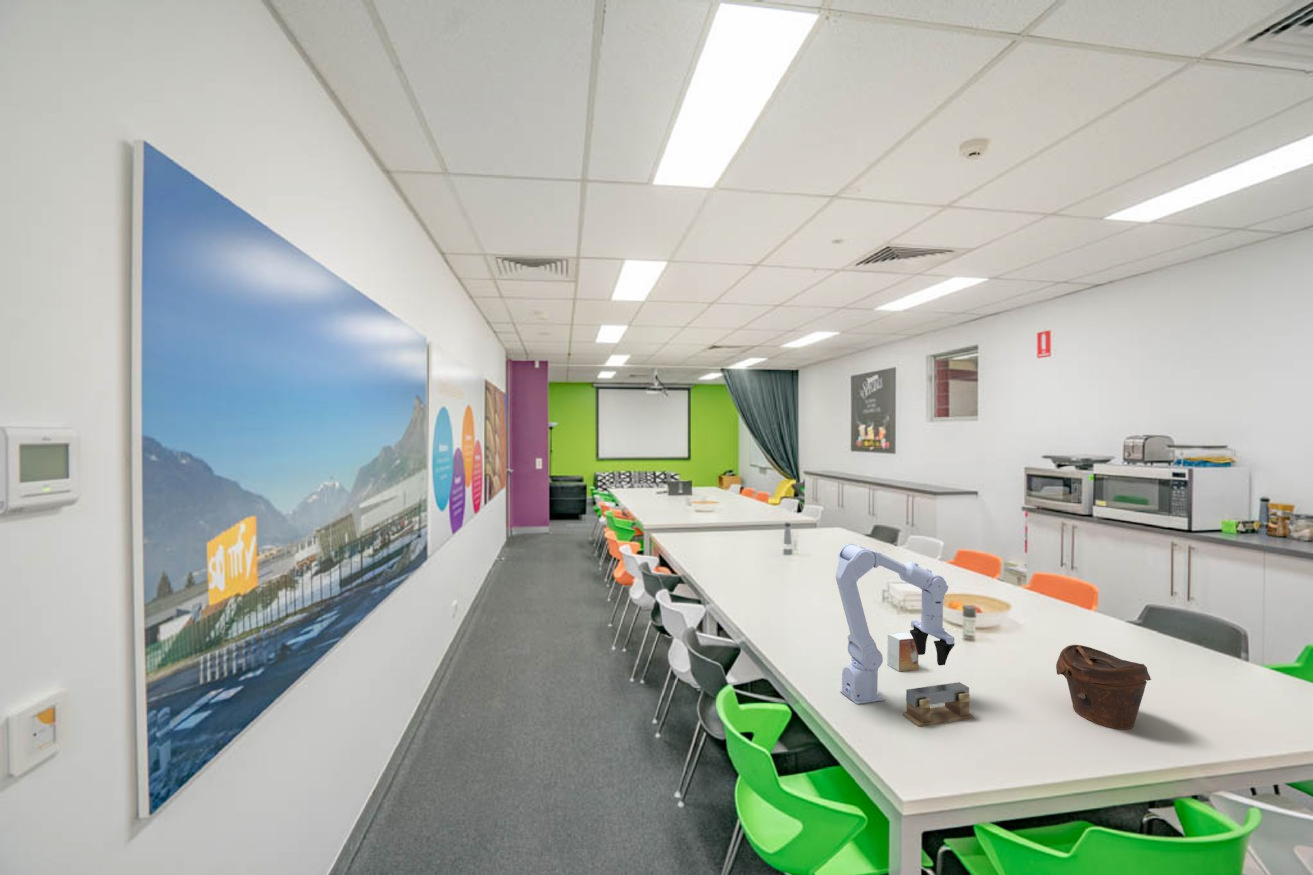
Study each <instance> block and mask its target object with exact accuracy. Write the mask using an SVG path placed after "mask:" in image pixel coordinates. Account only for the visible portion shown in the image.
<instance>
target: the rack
mask: <svg viewBox="0 0 1313 875" xmlns="http://www.w3.org/2000/svg"><path fill="white" fill-rule="evenodd" d="M905 710H906V711H903V712H902V713H901V715H902V716H903V717H904V718H906V719H907V721H909V722H911V723H912V724H914V725H916V726H917V727H919V728H921V727H928V726H933V725H940V724H944V723H945V724H946V723H951V722H958V721H965V720H969V719H974V714H972V713H970V692H969V693H963V694H959V701H953V702H946V703H944V705H942V706H937V707H931V705H930V699H922V700H919V707H914V706H913V705H911V704H910V703H908V702H906V708H905Z"/></svg>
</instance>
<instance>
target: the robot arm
mask: <svg viewBox="0 0 1313 875" xmlns="http://www.w3.org/2000/svg"><path fill="white" fill-rule="evenodd" d="M837 556H838V564H837V567H836V573H835V580H836V585H837V588H838V592H839V595H840V598H841V603H842V607H843V611H844V615H845V618H846V622H847V625H848V630H849V634H848V635H847V641H848V644H847V652H848V654H849V656H851V663H850V665H848V666H845V667H844V668H843V669H842V674H841V676H842V677H841V689H840V693H842V694H843V695H845V697H847V698H848V699H850V700H851V701H852V702H854V703H855V704H856V705H861V704H868V703H875V702H880V701H885V698H884V697H883V696H881V695H880V694H879V693H878V687H879V686H878V678H879V676H878V675H879V672H878V671H879V668H880V667H881V666H882V664H883V659H884V658H883V654H882V652H881V651H880V650H879V649H878V647H877V643H876V641H875V640H874V638H873V636H872V635H871V633H870V630H869V627H868V622H867V619H866V618H867V617H866V615H865V611H864V608H863V604H862V600H861V595H860V592H859V588H858V585H857V582H858V580H859V579H860V578H862V577H863V576H864V575H866V574H867V573H868V572H870V571H871V570H872V569H873V568H874V569H877V568H879V567H883V568H885V569H887V570H890V571H892V572H895V573H897V574H898V575H899V576H898V577H899V578H900V580H902V581H903V582H906V583H908V584H910V585H912V586H914V587H916V588H918V589H920V590H921V606H920V607H921V608H920V609H921V613H920V614H921V616H920V619H921V620H920V621H918V620H917V619H916V620H910V628H913V629H910V630H909V634H911V635H912V637H913V639H914V642H915V645H916V649H917V653H918V656H924V655H926V650H927V640H928V636H929V635H930V636H933V637H934V638H936V639H939V640H933V644H934V646H935V650H936V662H937V663H936V664H937V665H938V666H946V662H947V659H948V657H949V654H950V652H951V650H952V649H953V648H954V647H955V637H954V636H953V635H951V634H949V633H948V632H947V631H945V628H944V627H943V626H944V625H943V624H944V623H943V622H944V617H943V616H944V600H945V595H946V593H947V592H948V590H949V585H947V582H946V580H945V578H944V577H942V576H941V575H938V574H936V573H933V572H932V570H930V569H928V568H927V569H925V568H922V567H920V566H919V564H918V563H917V562H914V561H912V562H908V561H907V562H904V563H901V562H899V561H897V560H895V559H893V558H891V557H889V556H888V555H886V554H883V553H881V552H878V551H877V550H873V549H870V548H867V547H863V546H858V545H857V544H854V543H848V544H845V545H844V546H842V548H841V549H840V551H839V552H838V554H837Z"/></svg>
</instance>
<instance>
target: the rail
mask: <svg viewBox="0 0 1313 875" xmlns="http://www.w3.org/2000/svg"><path fill="white" fill-rule="evenodd" d="M905 691H906V692H905V693H906V695H905V696H906V699H905V701H906V703H907V702H908V703H910V704H911V705H913V706H914V707H919V700H922V699H930V706H932V705H938V704H945V703H946V702H953V701H959V694H963V693H969V694H970V687H969V686H967V685H966V684H964V683H962V682H960V681H959V682H958V681H957V682H950V683H944V684H938V685H930V686H929V685H928V686H921V687H915V688H909V689H906V690H905Z"/></svg>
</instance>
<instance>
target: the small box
mask: <svg viewBox="0 0 1313 875" xmlns="http://www.w3.org/2000/svg"><path fill="white" fill-rule="evenodd" d="M886 655H887V657H886V658H887V659H886V660H887V666H889V667H890V668H892V669H894V670H895V671H897V672H903V671H917V670H919V655H918V653H917V649H916V645H915V642H914V639H913V637H912V635H911V633H910V632H907V631H905V632H902V633H901V632H899V633H888V634H887V654H886Z"/></svg>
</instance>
